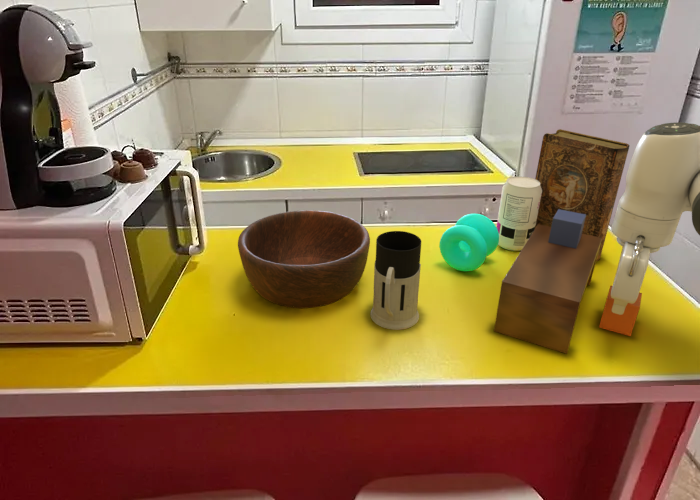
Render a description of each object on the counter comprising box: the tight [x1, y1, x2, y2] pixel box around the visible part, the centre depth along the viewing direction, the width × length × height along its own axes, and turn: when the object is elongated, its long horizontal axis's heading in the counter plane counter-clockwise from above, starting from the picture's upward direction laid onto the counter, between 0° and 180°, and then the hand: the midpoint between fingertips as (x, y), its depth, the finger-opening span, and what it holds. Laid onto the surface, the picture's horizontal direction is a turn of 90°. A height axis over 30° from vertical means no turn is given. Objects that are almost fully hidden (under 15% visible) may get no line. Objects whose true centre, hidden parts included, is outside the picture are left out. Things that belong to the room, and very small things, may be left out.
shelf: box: [493, 224, 602, 355], centre depth 94 cm, size 12×26×10 cm, turn 150°
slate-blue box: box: [548, 209, 586, 249], centre depth 97 cm, size 5×5×5 cm
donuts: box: [439, 213, 499, 272], centre depth 108 cm, size 10×10×10 cm
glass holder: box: [369, 230, 422, 331], centre depth 87 cm, size 9×14×15 cm, turn 166°
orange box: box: [598, 285, 643, 337], centre depth 90 cm, size 5×5×6 cm
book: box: [534, 128, 630, 263], centre depth 112 cm, size 16×6×25 cm, turn 41°
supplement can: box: [496, 175, 542, 252], centre depth 115 cm, size 8×8×15 cm
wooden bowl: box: [237, 209, 371, 309], centre depth 101 cm, size 25×25×10 cm
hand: (620, 298), depth 89 cm, fingers open, 8 cm apart
